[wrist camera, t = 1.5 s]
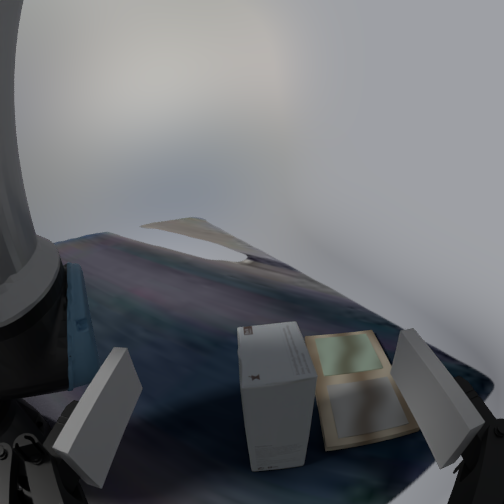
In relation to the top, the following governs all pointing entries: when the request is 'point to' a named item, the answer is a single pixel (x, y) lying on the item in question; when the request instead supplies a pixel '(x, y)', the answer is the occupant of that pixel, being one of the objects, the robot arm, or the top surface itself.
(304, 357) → the skincare box
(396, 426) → the board
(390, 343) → the top surface
